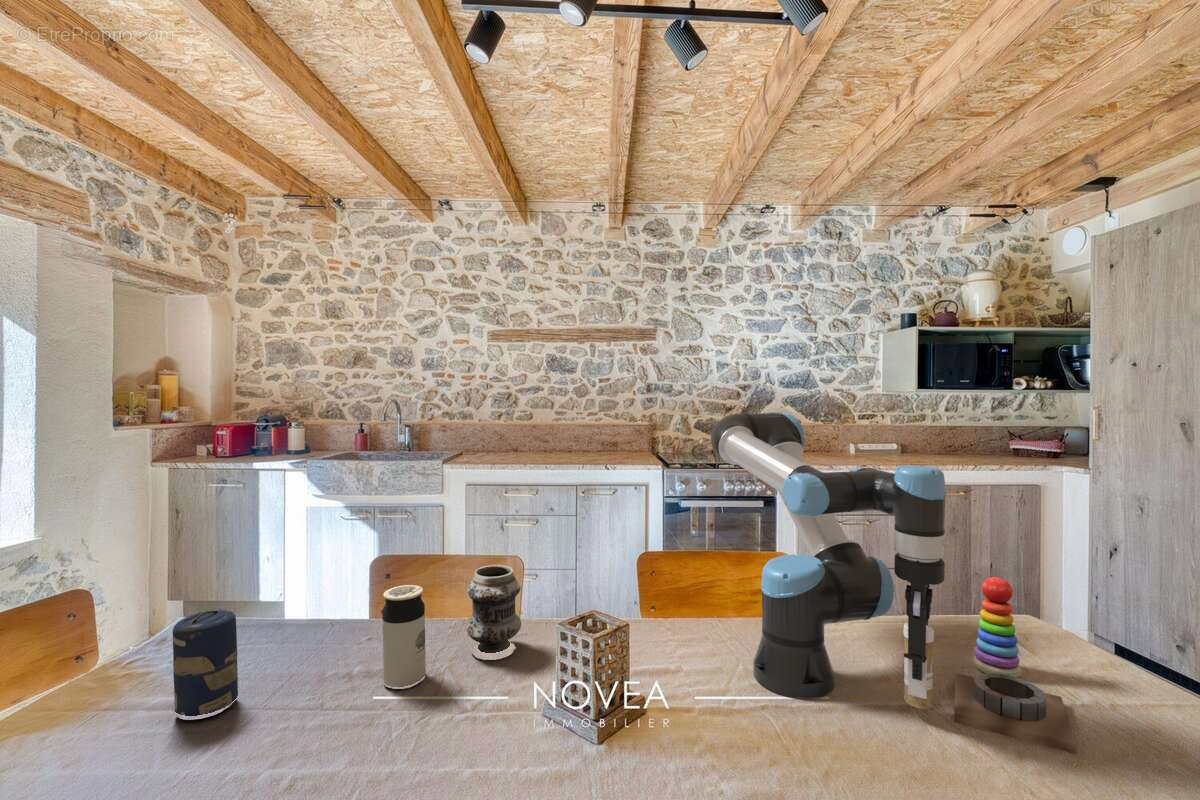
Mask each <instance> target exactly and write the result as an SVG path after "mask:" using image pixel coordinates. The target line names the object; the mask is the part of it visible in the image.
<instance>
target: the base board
mask: <svg viewBox="0 0 1200 800" xmlns="http://www.w3.org/2000/svg"><path fill="white" fill-rule="evenodd" d="M954 675H955V676H954V677H955V678H954V681H955V682H954V723H955V722H956V723H958V724H963V725H966V726H971V727H974V728H978V729H983V730H984V731H985V730H986V731H990V732H992V733H997V734H1000V735H1004V736H1007V737H1010V738H1011V737H1012V738H1015V739H1019V740H1023V741H1026V742H1029V743H1034V744H1037V745H1042V746H1045V747H1050V748H1052V749H1053V748H1054V749H1057V750H1061V751H1064V752H1068V753H1072V754H1075V755H1077V754H1078V752H1077V750H1078V745H1077V741H1076V739H1075V735H1074V732H1073V729H1072V725H1071V722H1070V720H1069V717H1068V714H1067V710H1066V707H1065V705H1064V701H1063V698H1062V696H1059V695H1055V694H1051V693H1047V692H1044V693H1045V696H1046V718H1044V719H1042V720H1040V721H1037V722H1033V721H1021V720H1020V721H1018V720H1014V719H1010V718H1006V717H1003V716H1002V715H1001V716H1000V715H998V714H996V713H993V712H991V711H989V710H987V709H985V708H984V707H982V706H981V705H980V704H979V703H978V702H977V701H976V700H975V679H974V677H975V676H971V675H967V674H963V673H958V672H955V674H954ZM1002 695H1004V694H1002ZM1005 696H1008V695H1005ZM1009 697H1013V696H1009ZM1013 698H1016V697H1013Z"/></svg>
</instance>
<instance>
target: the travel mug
mask: <svg viewBox="0 0 1200 800" xmlns="http://www.w3.org/2000/svg"><path fill="white" fill-rule="evenodd" d="M423 593H424V588H423V587H421V586H420V585H415V584H404V585H399V586H394V587H392V588H389V589H387V590H385V591H384V593H383V598H384V599H385V604H384V606H383V608H382V611H381V615H382V670H383V672H382V673H383V675H382V677H383V681H384V683H385V684H386V685H388V686H391V687H404V686H408V685H412V684H414V683H416V682H418V681H420V680H421V679H422V678H423V677H424V676H425V674H426V675H427V673H426V672H427V671H426V669H427V668H426V608H425V607H426V606H425V602H424V601H423V599H422V595H423Z"/></svg>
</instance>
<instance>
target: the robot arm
mask: <svg viewBox="0 0 1200 800" xmlns="http://www.w3.org/2000/svg"><path fill="white" fill-rule="evenodd" d="M804 434H805V430H804V426H803V425H802V423H801V422H800V421H799V419H798V418H797V417H795V416H794V415H793V414H790V413H787V412H779V411H772V412H763V413H761V412H758V413H757V412H755V413H748V412H747V413H740V412H739V413H732V414H728V415H726V416H724V417H722V418H721V419H720V420H718V422H717V423H715V425H714V427H713V429H712V430H711V434H710V444H711V447H712V450H713V452H714V453H715V454H716V456H717V457H718V458H720V459H721V460H722V461H724V462H725V463H727V464H729V465H734V466H735V465H736V466H739V467H741V468H742V469H743V470H745V471H747V472H749V473H751V475H753V476H755V477H756V478H758V479H760V480H761V481H762V482H764V483H765V484H767V485H768V486H770V487H771V488H773V489H774V490H776V491H777V492H778V493H779V495H780V498H781V499H782V502H783V504H784V505H785V508H786V509H787V511H788V514H789V515H790V517H791V520H792V521H793V523H794V526H795V527H796V529H797V531H798V533H799V535H800V537H801V539H802V541H803V543H804V545H805V547H806V549H807V551H808V553H809V555H807V554H798V555H796V554H786V555H785V554H784V555H780V556H777V557H774V558H771V559H769V560H768V561H767V562H766V563H765V564H764V566H763V568H762V571H761V582H760V589H761V619H762V620H761V627H762V629H761V638H760V642H759V644H758V646H757V649H756V650H757V651H756V653H755V655H754V658H753V677H754V679H755V680H756V681H757V682H758V683H759V684H760V685H761V686H762V687H764V688H765V689H768V690H769V691H771V692H774V693H776V694H779V695H782V696H787V697H789V698H790V697H791V698H796V699H797V698H798V699H813V698H814V699H815V698H820V697H823V696H826V695H828V694H830V693H831V692H832V691H833V690H834V687H835V673H834V668H833V666H832V663H831V660H830V657H829V653H828V651H827V648H826V645H825V625H828V624H837V623H845V622H853V621H860V620H863V621H866V620H867V621H868V620H871V619H873V618H878V617H881V616H884V615H885V614H886V613H888V611H889V610H890V609H891V607H892V605H893V603H894V599H895V597H894V595H895V594H894V593H895V584H894V579H893V576H892V573H891V571H890V569H889V568H888V566H887V565H886V563H885V562H884V561H883V560H882V559H878V558H877V557H875V556H867V555H866V553H865V550H863V548H862V546H861V545H860V542H857V541H855V540H850V539H848V537H847V535H846V533H845V531H844V529H843V528H842V526H841V524H840V522H839V520H838V519H837V518H836V516H835V514H840V513H857V512H869V511H871V512H872V511H877V512H881V513H883V514H884V513H885V514H887V515H891V516H894V529H893V532H894V534H893V535H894V539H893V540H894V542H893V543H894V544H893V545H894V546H893V548H894V549H893V550H894V551H895V553H896V554H894V574H895V576H896V577H898V579H900V580H902V581H906V582H908V583H909V584H906V586H905V587H906V588H905V591H904V599H905V600H906V609H905V610H906V612H905V613H906V616H907V618H908V622H907V623H908V653H904V652H903V658H904V657H906V658H908V694H909V695H912V696H916V697H920V698H924V699H926V698H927V657H926V625H928V626H929V619H930V617H931V609H932V602H933V601H932V600H933V588H930V585H932V586H935V585H940V584H942V583H944V581H945V579H946V577H945V560H943V558H944V557H945V547H947V546H949V545H950V541H949V540H948V539H945V533H946V532H945V531H946V530H945V526H946V525H945V522H946V520H945V518H946V517H945V515H946V497H947V491H946V484H945V483H946V480H945V474H944V471H942V470H941V469H940V468H938V467H934V466H929V465H928V466H927V465H921V464H920V465H917V464H910V465H909V464H906V465H905V464H904V465H899V466H897V467H896V468H895V471H894V472H889V471H886V470H885V471H884V470H879V469H875V468H874V467H860V466H859V467H855V468H852V469H851V470H849V471H832V472H831V471H830V472H828V471H827V472H824V471H820V470H819V469H816V468H815V467H812V466H811V465H809V464H807V463H805V462H804V459H803V458H802V457H803V455H804V450H805V445H806V437H805V436H804ZM933 643H934V642H933ZM933 643H932V645H933Z"/></svg>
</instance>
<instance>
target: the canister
mask: <svg viewBox="0 0 1200 800" xmlns="http://www.w3.org/2000/svg"><path fill="white" fill-rule="evenodd" d="M236 617H237V616H236V614H235V612H233V611H231V610H228V609H227V610H226V609H212V610H205V611H201V612H198V613H194V614H191V615H188V616H186V617H184V618H183V619H181V620H179V621H178V622H176V623H175V624H174V626H173V627H172V654H173V655H172V657H173V658H172V659H173V663H172V666H173V667H172V669H173V696H174V713H175V712H176V713H178V714H180V715H185V716H197V715H203V714H208V713H212V712H215V711H217V710H220V709H222V708H225V707H226V706H228V705H230V704H231V703H232V702H233V701H234V700H235V699H236V698H237V699H238V697H237V696H239V685H238V684H239V683H238V682H239V681H238V680H239V679H238V678H239V677H238V669H239V668H238V656H239V655H238V638H237V635H238V633H237V618H236ZM237 699H236V700H237Z"/></svg>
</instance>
